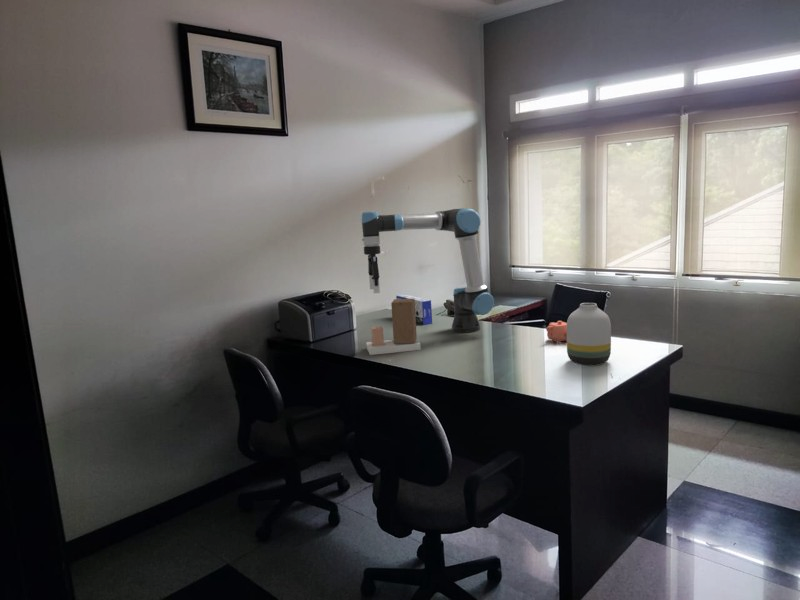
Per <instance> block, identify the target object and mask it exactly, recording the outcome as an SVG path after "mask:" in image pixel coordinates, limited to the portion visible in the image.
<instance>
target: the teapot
mask: <svg viewBox="0 0 800 600" xmlns="http://www.w3.org/2000/svg"><path fill="white" fill-rule="evenodd" d="M545 330H546V332H547V339H548V340H550V341H551V342H556V343H557V344H561V343H562V341H565V342H566V343H567V322H565V321H562V320H557V322H554V321H553V322H549V324H548V326H547V327H546V329H545Z"/></svg>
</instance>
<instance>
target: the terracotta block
mask: <svg viewBox="0 0 800 600" xmlns="http://www.w3.org/2000/svg"><path fill="white" fill-rule="evenodd" d="M370 329H371V331H370V332H371V342H372V344H373V346H378V345H384V341H385V339H384V328H383V327H382V326H381V325H380V326H379V325H378V326H371V327H370Z"/></svg>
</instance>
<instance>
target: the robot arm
mask: <svg viewBox="0 0 800 600" xmlns="http://www.w3.org/2000/svg"><path fill="white" fill-rule="evenodd" d="M481 221H482V220H481V217H480V215H479V213H478V212H477V211H476V210H475V209H472V208H467V207H466V208H465V207H464V208H463V207H462V208H453V209H447V210H440V211H439V210H438V211H435V212H434V213H411V214H409V213H407V214H406V213H405V214H383V215H382V214H379V213H378V211H364V212H362V214H361V226H362V227H361V228H362V238H361V242H363V246H364V247H363V254H364V255H367V262H368V263H367V265H368V266H367V270H368V272H367V273H368V277H369V290H373V294H380V292H381V291H380V272H379V265H378V263H379V262H378V257H377V255H379V254H381V246H380V244H381V242H380V241H381V240H380V239H381V237H380V233H382V232H397V231H404V230H405V231H406V230H409V231H410V230H434V229H435V230H436V231H444V232H454V238H455V239H456V240H457V241H458V242H459V243H458V244H459V248H460V255H461V259H462V261H461V262H462V266H463V270H464V278H465V281H466V286H462V287H455V288H454V289H453V295H452V296H453V309H454V317H453V319H452V323H451V330H452V332H456V333H474V332H478V331H480V330H481V324H480V321H479V318H478V316H485V315H487V314H489V313H490V312H492V310H493V308H494V305H495V298H494V297H493V295H492V294H491V293H489V288H488V286H487V284H485V282H484V277H483V271H482V265H481V261H480V259H481V258H480V254H479V247H478V243H477V242H478V241H477V236H478V235H479V228H480V226H481ZM477 315H478V316H477Z"/></svg>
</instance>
